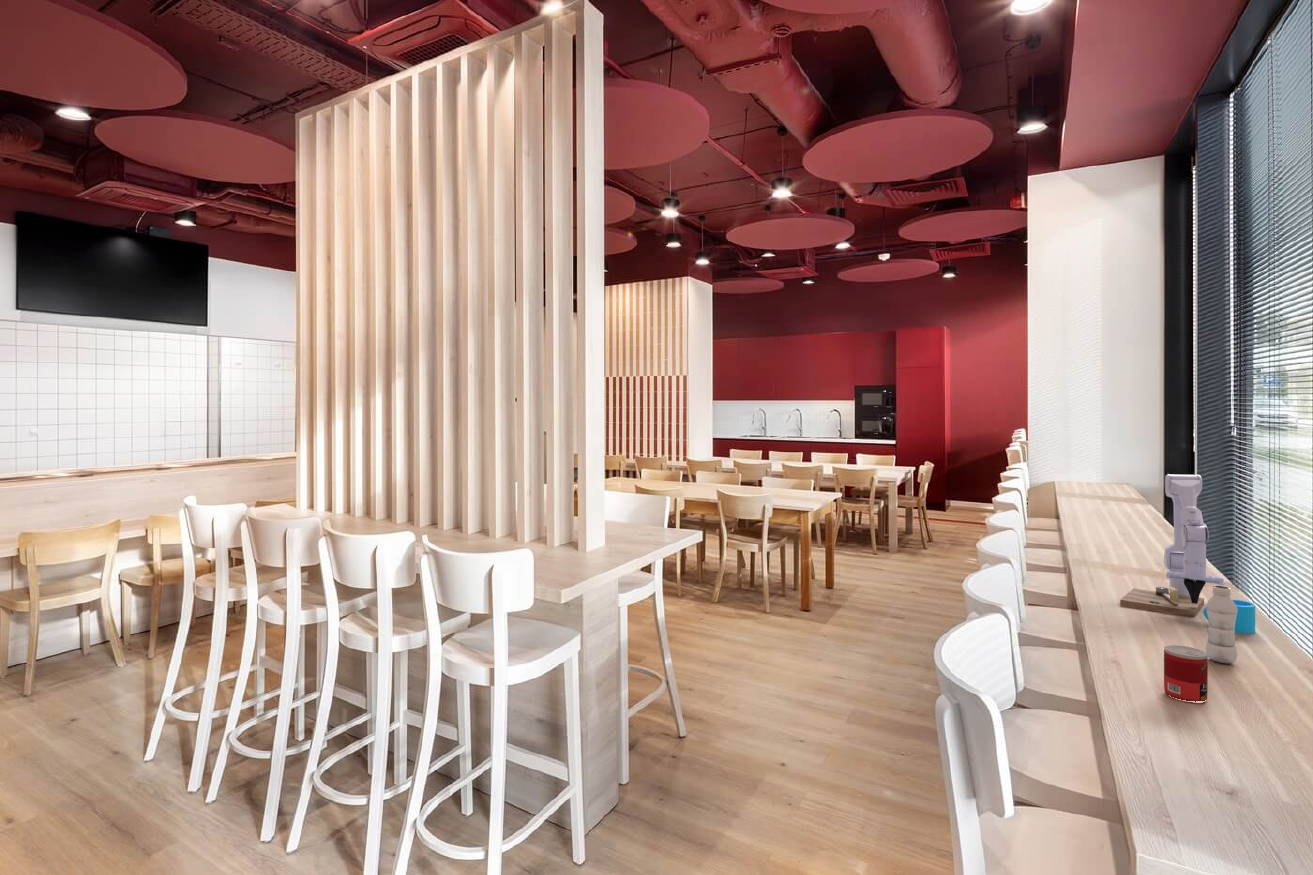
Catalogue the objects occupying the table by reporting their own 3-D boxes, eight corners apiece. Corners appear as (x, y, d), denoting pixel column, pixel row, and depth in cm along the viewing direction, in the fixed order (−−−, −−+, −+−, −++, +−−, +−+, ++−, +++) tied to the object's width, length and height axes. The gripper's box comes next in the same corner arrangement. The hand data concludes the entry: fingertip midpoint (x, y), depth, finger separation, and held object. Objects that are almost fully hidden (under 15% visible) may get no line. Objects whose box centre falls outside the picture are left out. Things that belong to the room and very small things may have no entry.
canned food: (1210, 706, 149) (1210, 659, 148) (1166, 699, 153) (1166, 653, 153) (1204, 694, 155) (1204, 648, 155) (1162, 687, 159) (1162, 643, 159)
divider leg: (1154, 592, 233) (1154, 578, 233) (1166, 593, 232) (1166, 579, 232) (1170, 604, 219) (1170, 590, 218) (1183, 605, 217) (1183, 591, 217)
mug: (1254, 628, 200) (1254, 601, 200) (1256, 635, 194) (1256, 608, 193) (1203, 621, 208) (1203, 595, 207) (1203, 628, 201) (1203, 601, 201)
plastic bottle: (1229, 658, 177) (1230, 584, 176) (1242, 667, 170) (1243, 591, 170) (1200, 656, 179) (1200, 583, 178) (1212, 665, 172) (1212, 589, 172)
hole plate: (1133, 593, 240) (1133, 587, 240) (1204, 604, 225) (1204, 597, 225) (1120, 605, 226) (1120, 599, 226) (1194, 617, 212) (1194, 610, 212)
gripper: (1164, 560, 218) (1164, 601, 218) (1222, 567, 207) (1222, 609, 208) (1168, 557, 223) (1168, 596, 223) (1224, 563, 212) (1224, 604, 213)
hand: (1194, 602), depth 216 cm, fingers closed
